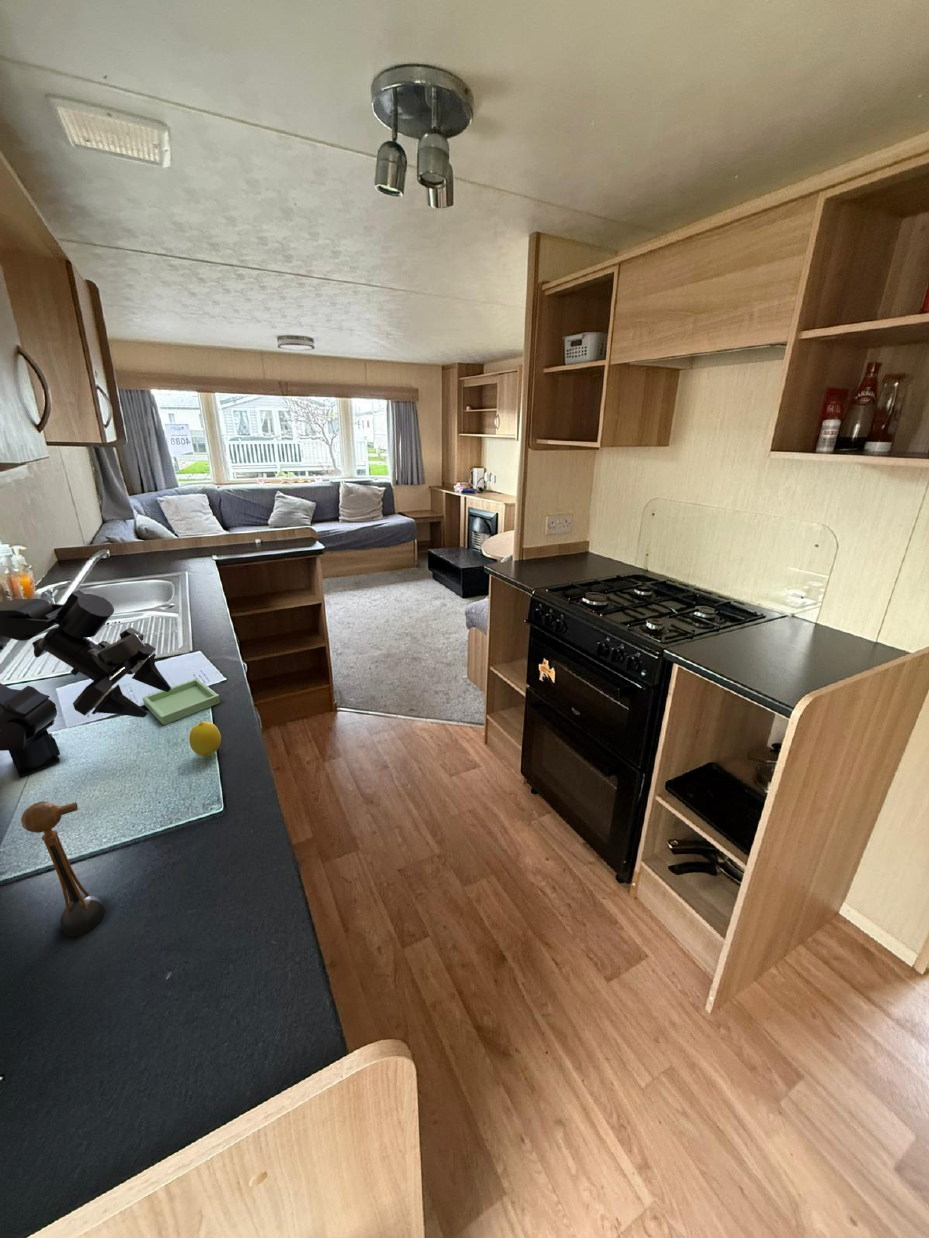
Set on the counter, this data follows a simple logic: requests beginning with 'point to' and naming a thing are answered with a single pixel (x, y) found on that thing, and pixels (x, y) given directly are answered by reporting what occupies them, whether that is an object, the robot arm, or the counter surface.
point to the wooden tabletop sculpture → (64, 868)
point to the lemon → (205, 739)
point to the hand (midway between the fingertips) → (158, 702)
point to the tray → (181, 701)
